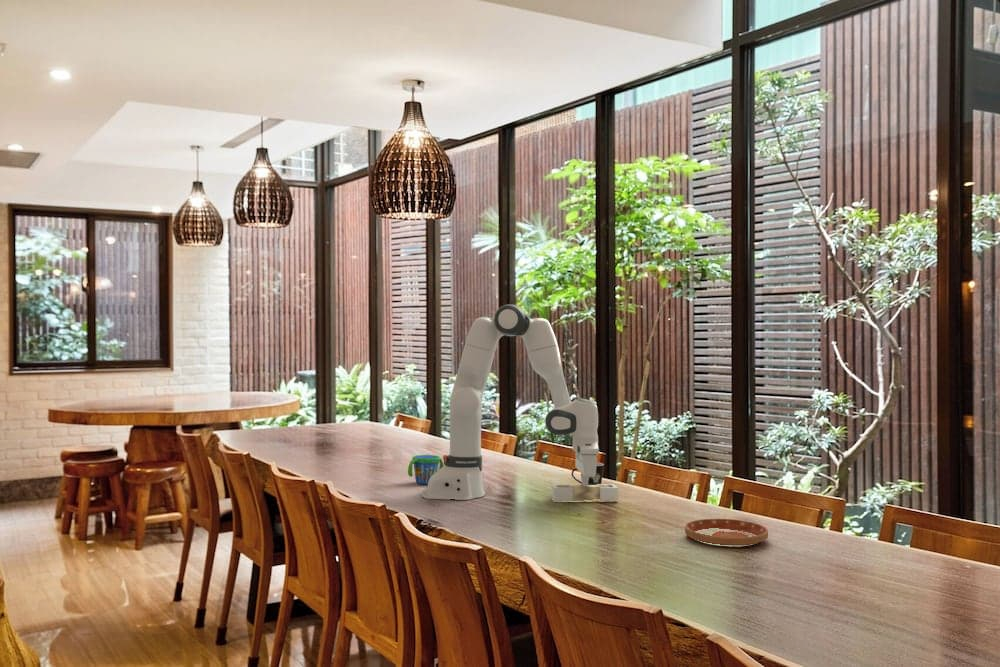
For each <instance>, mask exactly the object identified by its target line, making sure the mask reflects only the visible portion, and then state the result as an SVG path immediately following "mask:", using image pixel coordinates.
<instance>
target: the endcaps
mask: <svg viewBox="0 0 1000 667" xmlns="http://www.w3.org/2000/svg"><path fill="white" fill-rule="evenodd" d="M561 485H571V484H569V483H568V484H567V483H566V484H565V483H562V484H561V483H560V484H559V483H558V484H556V483H555V484H554V483H553V484H551V500H552V499H553V500H554V501H553V500H552V501H553V503H554V502H562V501H584V500H572V493H573V488H572V487H561ZM597 485H607V486H608V487H600V500H618V501H619V487H618V486H617V485H616V484H614V483H610V484H609V483H606V484H605V483H601V484H597Z"/></svg>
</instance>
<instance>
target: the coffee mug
mask: <svg viewBox="0 0 1000 667" xmlns="http://www.w3.org/2000/svg"><path fill="white" fill-rule="evenodd" d="M604 466H605V464H604V463H602V462H597V466H596V474H595V477H589V480H588V485H597V484H602V483H603V482H602V481H603V472H604ZM576 470H577V471H579V470H578V469H577V468H576V467H575V468H573V469H572V471H571V476H572V478H573V479H574V480H575V481H576V482H578V483H579V484H580V485H582V481H580V480H579V479H577V478H576V477H575V476H574V473H575V471H576Z"/></svg>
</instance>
